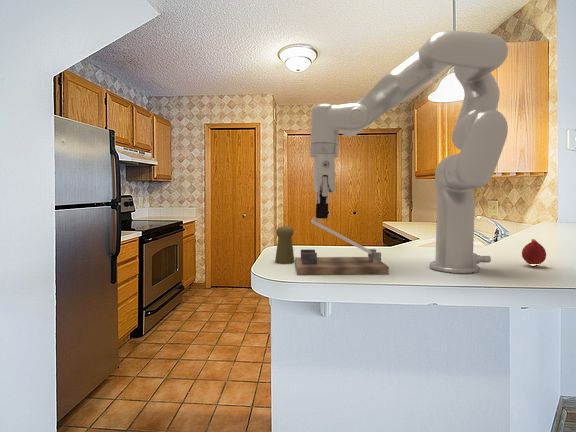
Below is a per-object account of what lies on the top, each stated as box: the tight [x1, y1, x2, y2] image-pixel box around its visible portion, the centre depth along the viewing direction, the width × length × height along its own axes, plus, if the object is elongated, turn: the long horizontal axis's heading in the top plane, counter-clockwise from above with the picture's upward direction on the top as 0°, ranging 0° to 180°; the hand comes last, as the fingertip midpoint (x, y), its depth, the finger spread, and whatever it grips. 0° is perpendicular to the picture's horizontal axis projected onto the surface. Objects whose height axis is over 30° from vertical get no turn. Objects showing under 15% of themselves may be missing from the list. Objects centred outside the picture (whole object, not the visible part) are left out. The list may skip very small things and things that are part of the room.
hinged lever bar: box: [310, 216, 373, 255], centre depth 102 cm, size 20×4×2 cm, turn 93°
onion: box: [521, 238, 547, 265], centre depth 105 cm, size 6×6×8 cm
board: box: [294, 248, 390, 276], centre depth 103 cm, size 24×14×5 cm, turn 91°
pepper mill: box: [274, 225, 295, 265], centre depth 112 cm, size 6×6×11 cm
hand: (321, 218), depth 102 cm, fingers closed
